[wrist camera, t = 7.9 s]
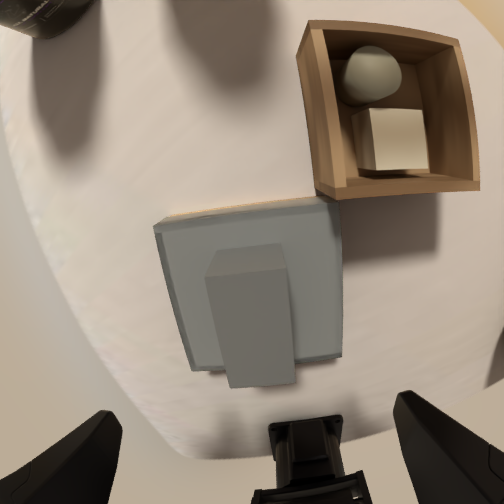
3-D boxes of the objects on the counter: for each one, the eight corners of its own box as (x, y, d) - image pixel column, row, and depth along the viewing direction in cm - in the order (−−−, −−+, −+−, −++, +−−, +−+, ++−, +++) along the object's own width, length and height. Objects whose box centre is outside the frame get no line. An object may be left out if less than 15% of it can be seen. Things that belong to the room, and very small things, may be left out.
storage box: (432, 180, 16) (480, 190, 11) (314, 187, 16) (336, 200, 12) (416, 60, 13) (458, 39, 9) (295, 55, 14) (308, 20, 9)
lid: (334, 336, 19) (355, 395, 13) (198, 350, 20) (180, 410, 14) (328, 195, 16) (361, 215, 11) (166, 217, 17) (124, 245, 11)
